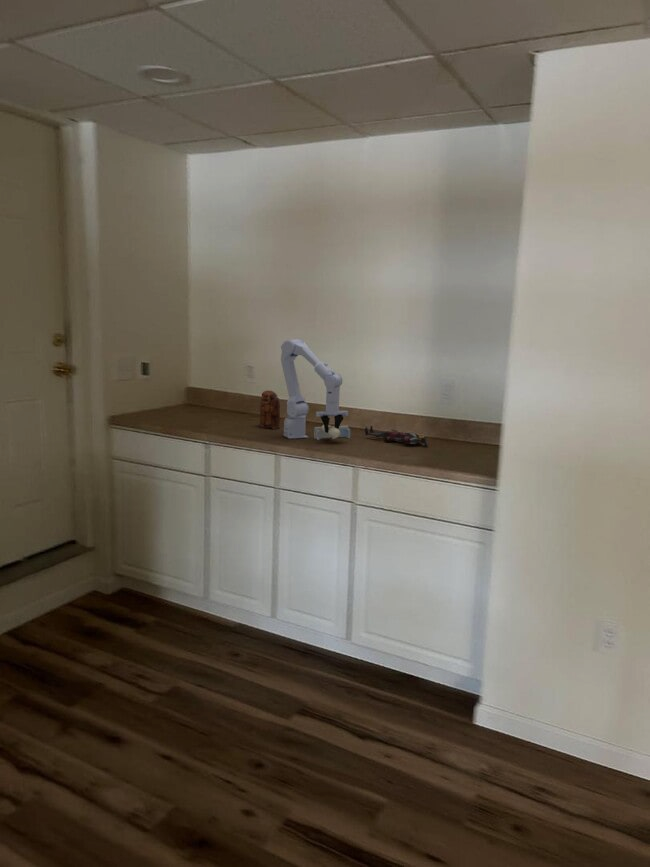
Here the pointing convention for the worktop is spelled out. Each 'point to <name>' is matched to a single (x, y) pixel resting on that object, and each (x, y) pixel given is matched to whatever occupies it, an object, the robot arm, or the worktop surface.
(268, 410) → the wooden figurine
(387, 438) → the figurine
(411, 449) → the worktop surface
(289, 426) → the robot arm
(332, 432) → the tall cream cylinder
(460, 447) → the worktop surface
